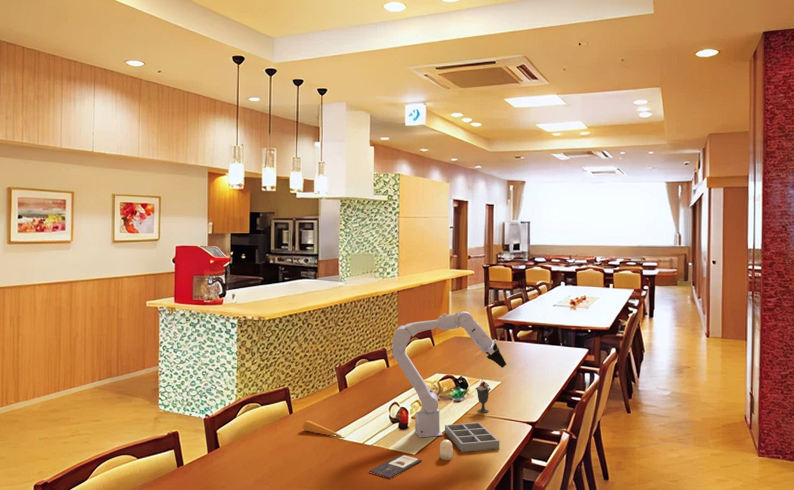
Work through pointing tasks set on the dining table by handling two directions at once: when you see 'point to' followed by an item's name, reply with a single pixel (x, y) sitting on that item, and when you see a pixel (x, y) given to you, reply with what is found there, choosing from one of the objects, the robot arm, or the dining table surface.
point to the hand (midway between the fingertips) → (503, 363)
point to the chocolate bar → (395, 466)
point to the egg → (446, 450)
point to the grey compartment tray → (471, 437)
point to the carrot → (317, 428)
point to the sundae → (483, 395)
